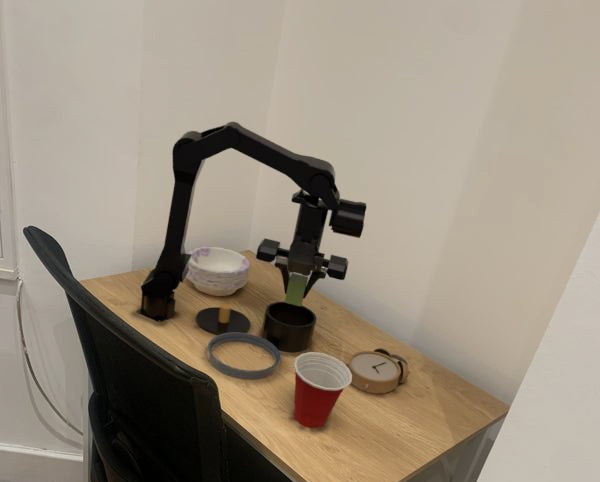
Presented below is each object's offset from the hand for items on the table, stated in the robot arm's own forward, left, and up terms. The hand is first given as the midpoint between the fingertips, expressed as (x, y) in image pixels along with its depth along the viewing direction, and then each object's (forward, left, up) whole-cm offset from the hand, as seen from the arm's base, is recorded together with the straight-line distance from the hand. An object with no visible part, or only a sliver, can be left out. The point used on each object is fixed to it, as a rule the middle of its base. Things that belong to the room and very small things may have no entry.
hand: (294, 295), depth 138 cm
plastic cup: (+17, -23, -12) cm, 31 cm away
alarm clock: (+22, +1, -12) cm, 25 cm away
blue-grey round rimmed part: (-3, -14, -12) cm, 18 cm away
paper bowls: (-25, +10, -12) cm, 29 cm away
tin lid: (-14, -4, -11) cm, 18 cm away
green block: (0, 0, -1) cm, 1 cm away
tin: (0, 0, -12) cm, 12 cm away
